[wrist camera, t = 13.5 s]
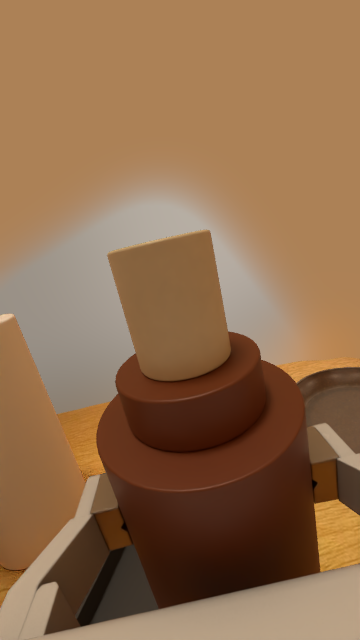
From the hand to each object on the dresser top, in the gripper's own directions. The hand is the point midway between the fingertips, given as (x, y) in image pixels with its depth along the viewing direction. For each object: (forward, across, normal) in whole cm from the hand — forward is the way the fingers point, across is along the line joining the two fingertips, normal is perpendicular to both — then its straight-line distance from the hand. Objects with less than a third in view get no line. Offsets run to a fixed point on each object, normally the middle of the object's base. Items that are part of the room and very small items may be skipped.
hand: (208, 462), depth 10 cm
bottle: (-1, 0, +10) cm, 10 cm away
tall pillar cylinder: (+17, +22, +20) cm, 34 cm away
